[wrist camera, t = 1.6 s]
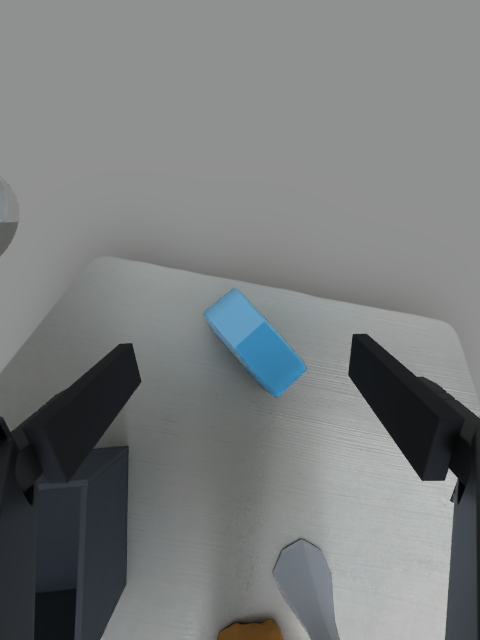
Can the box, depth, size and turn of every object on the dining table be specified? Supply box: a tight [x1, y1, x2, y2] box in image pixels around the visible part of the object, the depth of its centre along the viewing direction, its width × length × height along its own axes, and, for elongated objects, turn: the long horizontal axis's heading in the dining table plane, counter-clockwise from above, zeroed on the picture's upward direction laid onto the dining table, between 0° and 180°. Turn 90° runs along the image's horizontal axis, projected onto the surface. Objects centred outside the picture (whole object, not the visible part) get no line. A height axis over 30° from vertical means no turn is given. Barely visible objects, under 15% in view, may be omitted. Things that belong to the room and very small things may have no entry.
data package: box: [204, 288, 307, 397], centre depth 30 cm, size 12×4×12 cm, turn 42°
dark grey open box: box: [34, 446, 128, 640], centre depth 26 cm, size 16×17×10 cm
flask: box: [273, 539, 340, 640], centre depth 26 cm, size 7×7×10 cm
